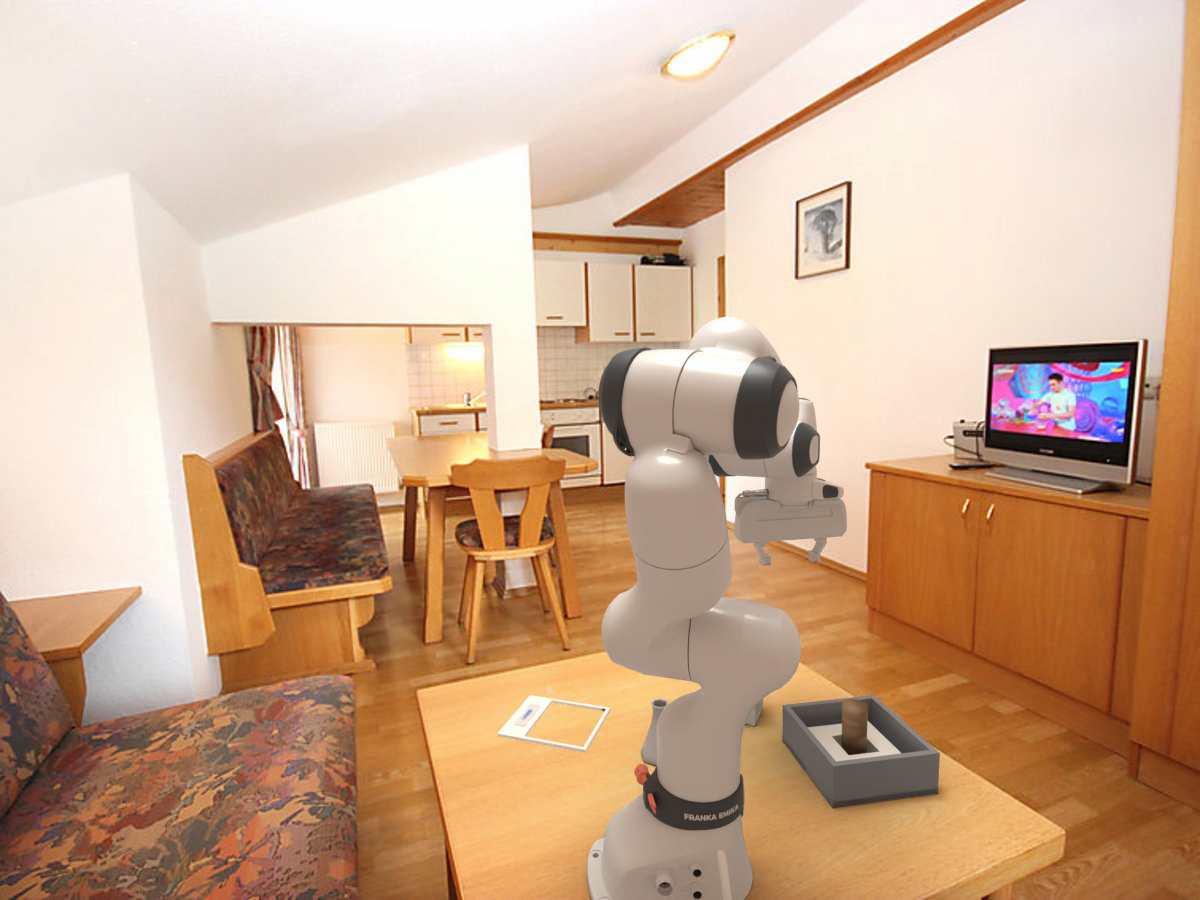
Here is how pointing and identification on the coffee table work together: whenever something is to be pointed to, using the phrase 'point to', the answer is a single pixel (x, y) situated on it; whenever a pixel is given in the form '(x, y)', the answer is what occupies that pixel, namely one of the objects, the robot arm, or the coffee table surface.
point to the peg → (854, 726)
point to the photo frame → (531, 714)
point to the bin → (880, 774)
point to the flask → (653, 733)
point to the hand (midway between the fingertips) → (789, 562)
